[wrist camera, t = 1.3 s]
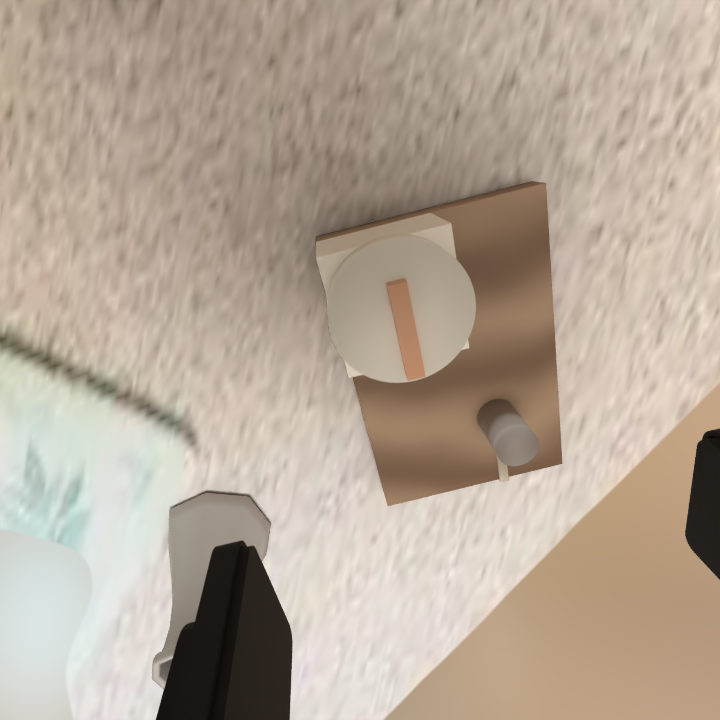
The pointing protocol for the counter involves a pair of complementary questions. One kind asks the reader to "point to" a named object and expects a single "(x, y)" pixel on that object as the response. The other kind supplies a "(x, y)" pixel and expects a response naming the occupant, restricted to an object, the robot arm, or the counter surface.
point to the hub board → (478, 361)
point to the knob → (397, 298)
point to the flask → (203, 555)
